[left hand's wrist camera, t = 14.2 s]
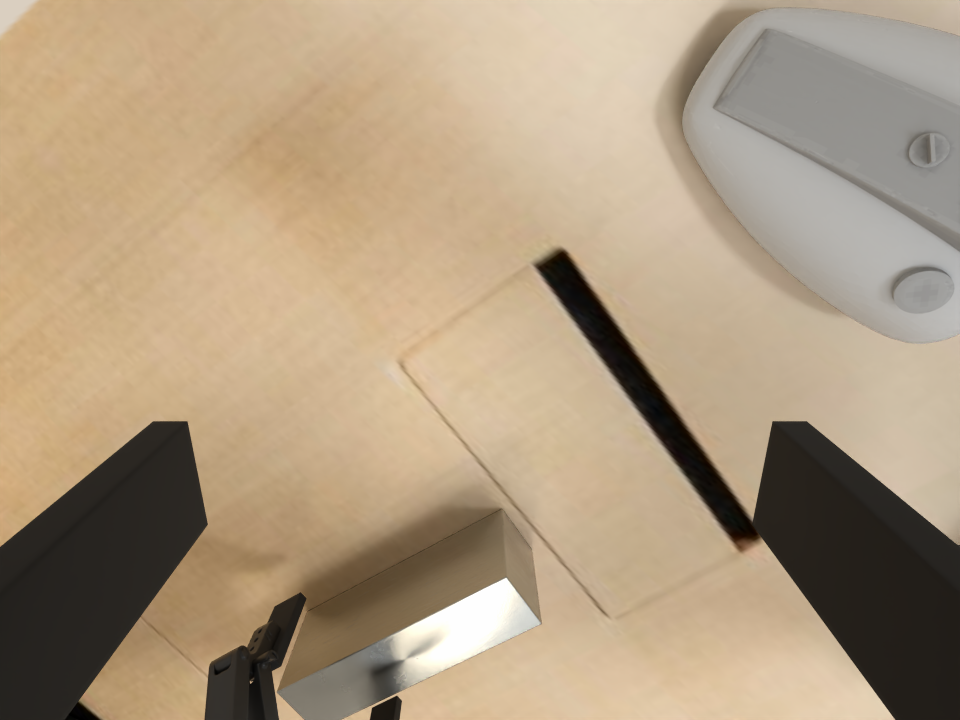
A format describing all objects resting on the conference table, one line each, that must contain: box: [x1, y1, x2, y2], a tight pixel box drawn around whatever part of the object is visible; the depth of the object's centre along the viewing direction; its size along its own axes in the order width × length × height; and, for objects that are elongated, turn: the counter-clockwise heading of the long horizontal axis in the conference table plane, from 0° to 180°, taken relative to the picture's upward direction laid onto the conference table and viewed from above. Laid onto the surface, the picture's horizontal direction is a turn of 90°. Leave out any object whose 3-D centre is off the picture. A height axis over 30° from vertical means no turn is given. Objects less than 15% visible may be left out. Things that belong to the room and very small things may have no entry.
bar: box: [277, 509, 542, 720], centre depth 48 cm, size 21×5×8 cm, turn 122°
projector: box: [682, 7, 960, 344], centre depth 32 cm, size 22×23×15 cm
